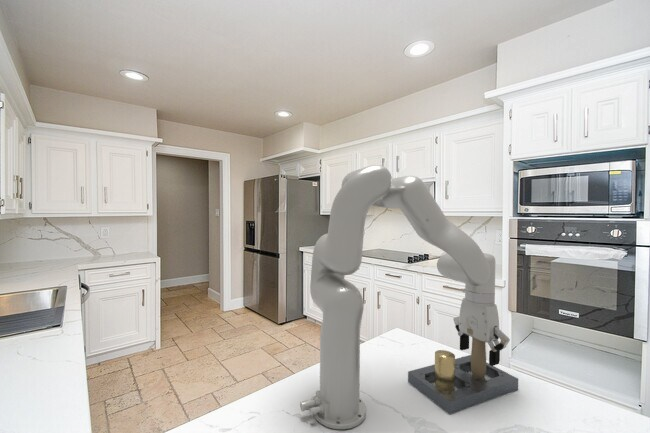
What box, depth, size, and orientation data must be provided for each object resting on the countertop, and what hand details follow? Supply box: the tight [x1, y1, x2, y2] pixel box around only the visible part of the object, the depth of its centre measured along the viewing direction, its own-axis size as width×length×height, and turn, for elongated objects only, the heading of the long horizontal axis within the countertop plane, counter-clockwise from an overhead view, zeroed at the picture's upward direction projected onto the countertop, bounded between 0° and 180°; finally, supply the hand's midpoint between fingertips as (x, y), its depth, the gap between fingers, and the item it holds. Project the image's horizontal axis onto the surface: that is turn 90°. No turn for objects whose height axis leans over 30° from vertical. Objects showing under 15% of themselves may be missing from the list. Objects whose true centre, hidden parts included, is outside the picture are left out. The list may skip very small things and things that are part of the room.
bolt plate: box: [407, 354, 519, 415], centre depth 84 cm, size 25×15×3 cm, turn 114°
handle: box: [467, 328, 487, 380], centre depth 86 cm, size 5×6×15 cm
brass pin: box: [434, 349, 456, 392], centre depth 81 cm, size 5×5×10 cm
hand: (478, 356), depth 87 cm, fingers open, 9 cm apart
